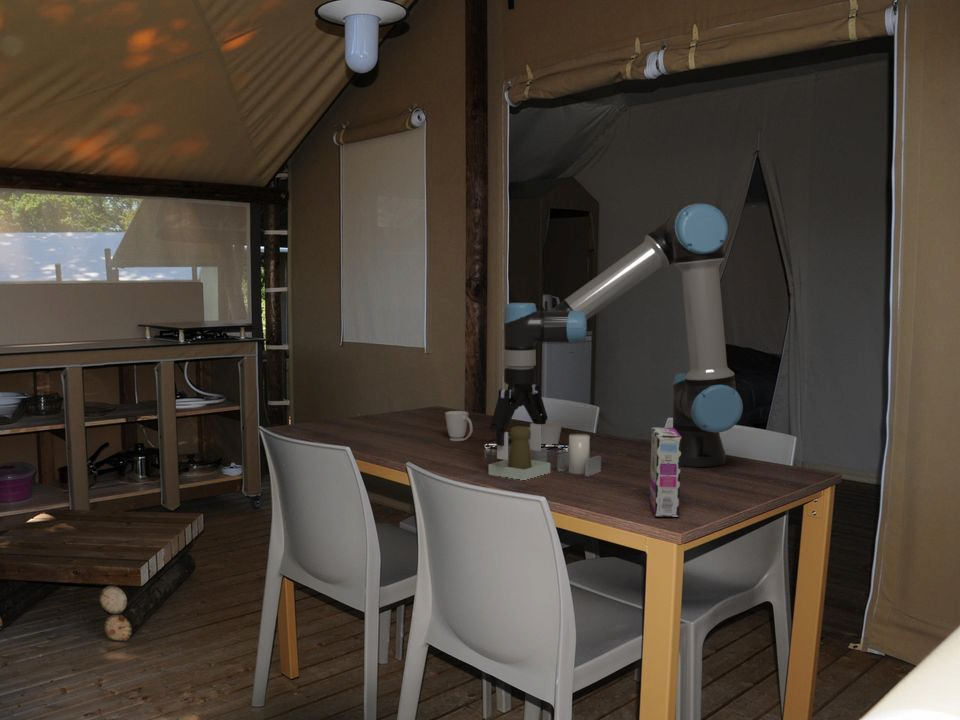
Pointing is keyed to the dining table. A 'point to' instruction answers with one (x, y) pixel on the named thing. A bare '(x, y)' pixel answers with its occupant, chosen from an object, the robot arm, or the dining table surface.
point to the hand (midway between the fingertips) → (519, 454)
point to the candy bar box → (665, 472)
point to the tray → (519, 470)
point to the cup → (458, 425)
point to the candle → (550, 433)
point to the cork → (520, 448)
